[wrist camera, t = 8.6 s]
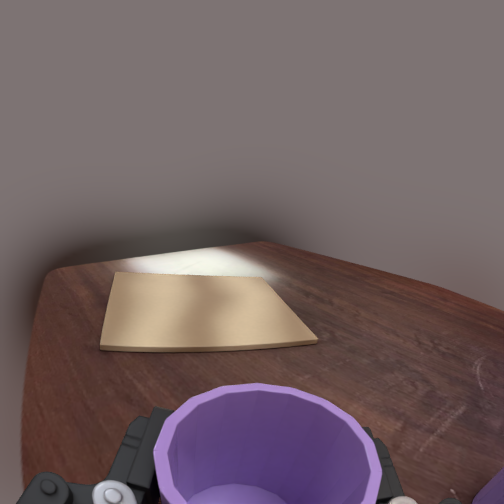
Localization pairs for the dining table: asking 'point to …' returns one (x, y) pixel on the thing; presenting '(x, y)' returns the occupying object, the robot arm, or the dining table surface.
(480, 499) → the lilac cup
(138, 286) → the mat
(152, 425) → the robot arm
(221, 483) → the lavender cup
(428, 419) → the dining table surface
